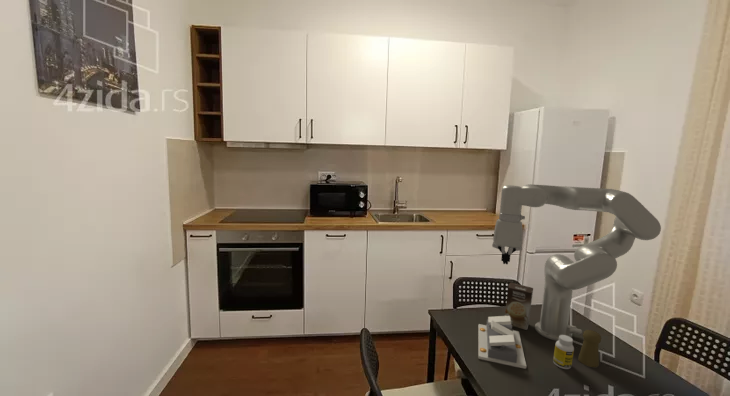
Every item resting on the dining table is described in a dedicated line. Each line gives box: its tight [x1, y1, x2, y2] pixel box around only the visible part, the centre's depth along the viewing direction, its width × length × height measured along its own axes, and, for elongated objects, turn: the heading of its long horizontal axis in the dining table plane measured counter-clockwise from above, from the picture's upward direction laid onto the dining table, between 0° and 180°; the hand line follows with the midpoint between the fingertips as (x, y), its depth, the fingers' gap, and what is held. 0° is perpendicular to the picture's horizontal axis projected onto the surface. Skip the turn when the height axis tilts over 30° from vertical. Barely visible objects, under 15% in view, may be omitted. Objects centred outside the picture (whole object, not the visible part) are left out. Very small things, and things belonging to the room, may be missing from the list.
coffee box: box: [504, 282, 534, 331], centre depth 137 cm, size 9×6×16 cm
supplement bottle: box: [552, 335, 575, 370], centre depth 112 cm, size 5×5×10 cm
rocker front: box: [489, 335, 515, 347], centre depth 115 cm, size 8×4×2 cm, turn 71°
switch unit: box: [477, 318, 527, 370], centre depth 122 cm, size 15×22×4 cm
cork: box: [577, 329, 602, 368], centre depth 114 cm, size 6×6×11 cm
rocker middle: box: [491, 320, 514, 335], centre depth 121 cm, size 8×4×2 cm, turn 73°
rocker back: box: [487, 315, 511, 325], centre depth 128 cm, size 8×4×2 cm, turn 71°
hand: (505, 263), depth 131 cm, fingers closed
